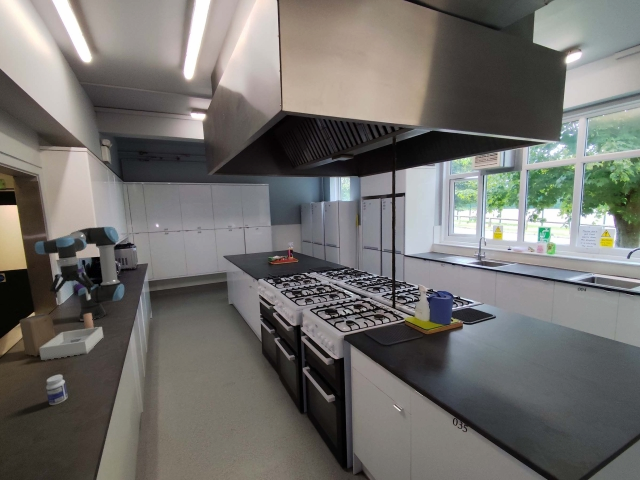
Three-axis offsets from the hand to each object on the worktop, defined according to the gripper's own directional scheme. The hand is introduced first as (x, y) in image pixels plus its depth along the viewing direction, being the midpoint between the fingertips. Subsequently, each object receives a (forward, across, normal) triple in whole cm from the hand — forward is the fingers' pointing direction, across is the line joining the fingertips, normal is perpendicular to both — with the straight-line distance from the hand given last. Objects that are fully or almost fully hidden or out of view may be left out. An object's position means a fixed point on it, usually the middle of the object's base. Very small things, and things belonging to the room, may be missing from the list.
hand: (74, 301), depth 164 cm
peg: (+25, 0, +10) cm, 27 cm away
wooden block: (+26, -17, -4) cm, 31 cm away
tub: (+25, 0, -6) cm, 26 cm away
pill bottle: (+25, +18, -58) cm, 66 cm away
